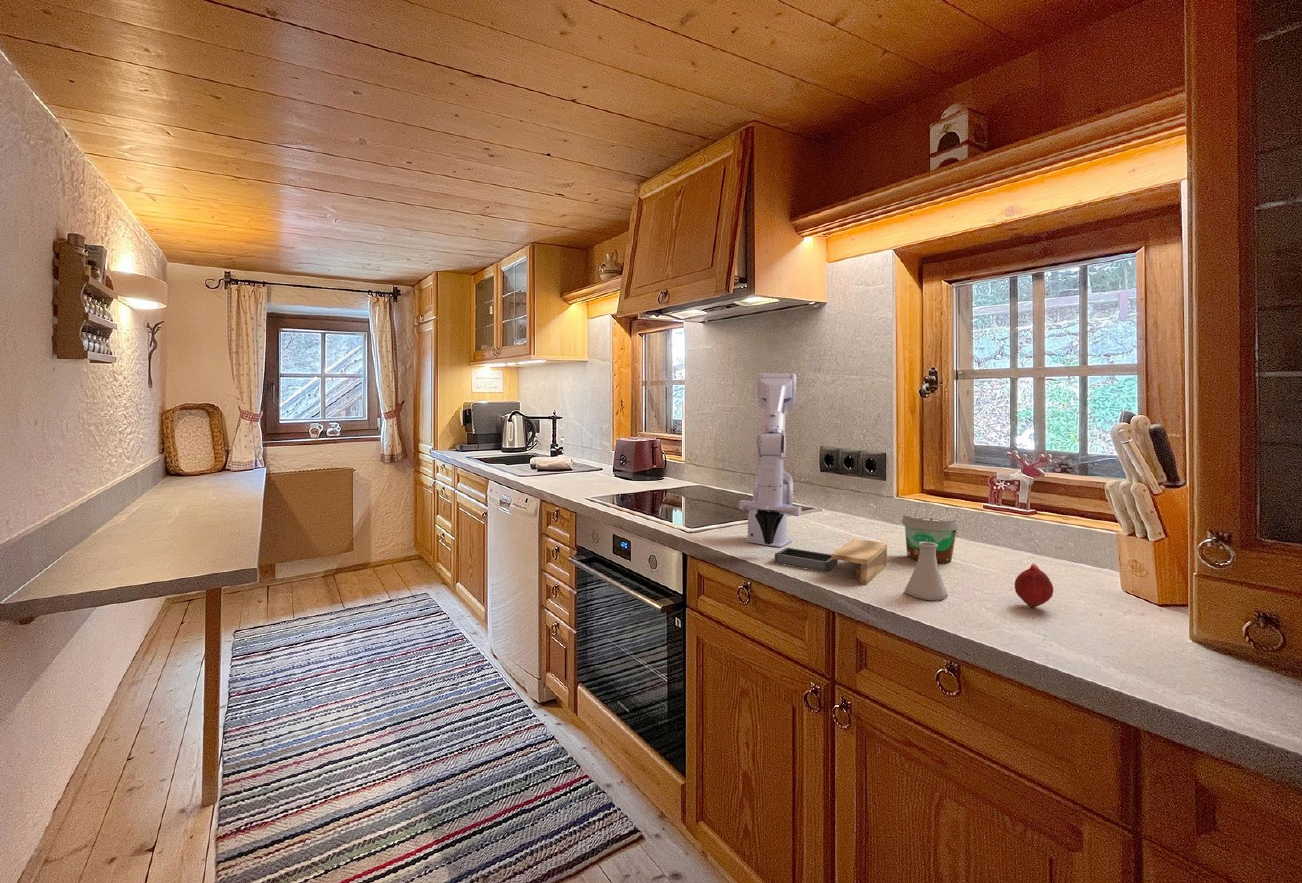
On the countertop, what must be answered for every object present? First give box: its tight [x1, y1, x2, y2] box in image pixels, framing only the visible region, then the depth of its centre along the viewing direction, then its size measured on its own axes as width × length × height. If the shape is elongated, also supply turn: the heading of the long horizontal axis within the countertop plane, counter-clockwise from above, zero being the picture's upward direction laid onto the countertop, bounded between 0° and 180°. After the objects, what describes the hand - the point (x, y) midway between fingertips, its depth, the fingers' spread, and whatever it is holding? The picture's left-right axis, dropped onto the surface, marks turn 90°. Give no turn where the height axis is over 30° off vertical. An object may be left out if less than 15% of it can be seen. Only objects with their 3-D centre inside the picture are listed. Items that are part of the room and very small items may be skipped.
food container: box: [901, 513, 961, 565], centre depth 136 cm, size 12×6×10 cm, turn 62°
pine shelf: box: [831, 538, 888, 585], centre depth 128 cm, size 7×16×5 cm, turn 145°
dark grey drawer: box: [774, 547, 839, 573], centre depth 134 cm, size 12×7×2 cm, turn 55°
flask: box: [903, 542, 949, 601], centre depth 113 cm, size 7×7×10 cm
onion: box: [1014, 562, 1054, 608], centre depth 107 cm, size 6×6×8 cm
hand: (768, 543), depth 139 cm, fingers closed
